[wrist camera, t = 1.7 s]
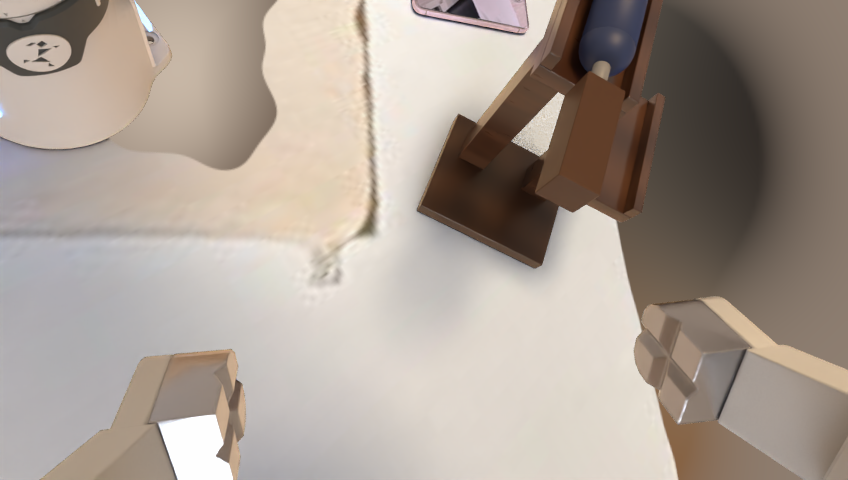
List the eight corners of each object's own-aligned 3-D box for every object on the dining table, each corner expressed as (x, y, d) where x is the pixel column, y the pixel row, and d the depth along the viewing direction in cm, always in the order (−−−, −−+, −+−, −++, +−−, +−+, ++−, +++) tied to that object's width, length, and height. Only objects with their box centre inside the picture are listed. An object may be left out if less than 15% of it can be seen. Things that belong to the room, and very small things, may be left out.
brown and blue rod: (574, 219, 28) (612, 196, 25) (523, 193, 28) (556, 166, 25) (646, -50, 38) (679, -89, 35) (608, -73, 37) (639, -115, 34)
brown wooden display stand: (534, 268, 55) (743, 161, 32) (416, 210, 53) (548, 51, 30) (561, 177, 60) (759, 27, 37) (453, 120, 58) (592, -77, 35)
